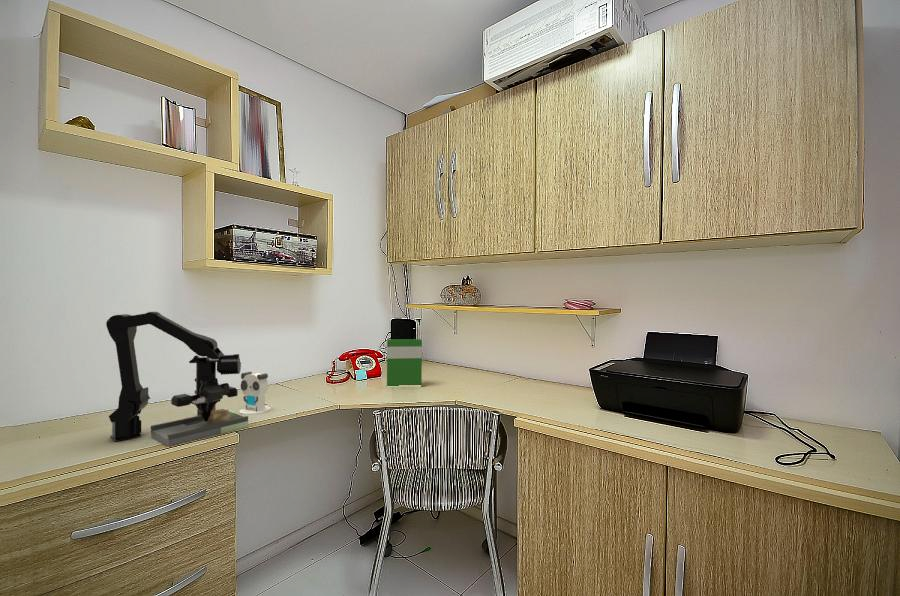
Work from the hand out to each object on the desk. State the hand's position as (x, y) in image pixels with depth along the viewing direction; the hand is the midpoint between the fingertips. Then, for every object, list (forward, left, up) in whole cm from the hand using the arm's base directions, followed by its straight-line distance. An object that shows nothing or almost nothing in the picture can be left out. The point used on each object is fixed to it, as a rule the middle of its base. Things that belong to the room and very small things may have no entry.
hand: (205, 421), depth 135 cm
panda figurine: (+23, +11, -3) cm, 25 cm away
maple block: (+4, 0, -1) cm, 4 cm away
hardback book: (+93, -6, -3) cm, 93 cm away
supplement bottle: (+8, +18, -3) cm, 20 cm away
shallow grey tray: (-1, 0, -3) cm, 3 cm away
